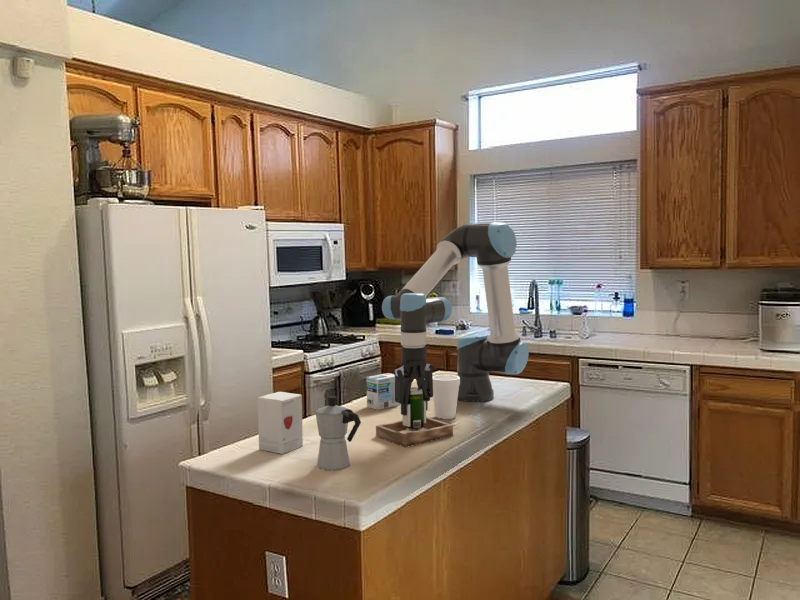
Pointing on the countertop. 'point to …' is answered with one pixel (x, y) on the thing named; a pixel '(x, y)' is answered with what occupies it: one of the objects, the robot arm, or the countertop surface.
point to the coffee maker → (334, 435)
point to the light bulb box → (381, 391)
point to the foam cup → (445, 395)
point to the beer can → (416, 409)
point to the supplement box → (280, 422)
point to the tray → (414, 432)
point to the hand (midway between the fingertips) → (414, 423)
